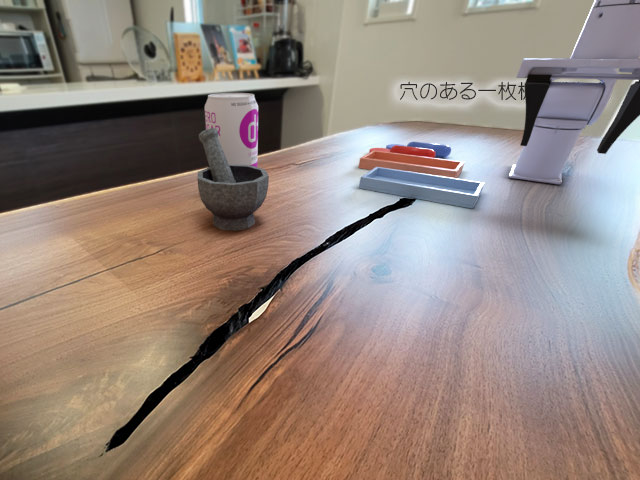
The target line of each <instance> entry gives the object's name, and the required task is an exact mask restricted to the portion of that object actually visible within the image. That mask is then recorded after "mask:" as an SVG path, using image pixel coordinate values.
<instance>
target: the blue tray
mask: <svg viewBox="0 0 640 480" xmlns="http://www.w3.org/2000/svg"><path fill="white" fill-rule="evenodd" d="M484 187H485V182H483V181H476V180H472V179H471V180H470V179H464V178H458V177H457V178H450V177H443V176H436V175H430V174H423V173H416V172H409V171H402V170H395V169H389V168H382V167H375V168H374V169H372V170H368V171H367V172H366V173H365V174H363V175H361V176H360V178H359V184H358V189H361V190H365V191H366V190H367V191H372V192H378V193H383V194H388V195H394V196H399V197H406V198H412V199H417V200H423V201H428V202H433V203H440V204H445V205H450V206H455V207H456V206H457V207H460V208H461V207H462V208H466V209H474V208H475V205H476V204H477V202H478V200H479V198H480V197H481V194H482V192H483V189H484Z"/></svg>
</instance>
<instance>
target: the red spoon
mask: <svg viewBox="0 0 640 480" xmlns="http://www.w3.org/2000/svg"><path fill="white" fill-rule="evenodd" d="M399 145H400V144H399ZM399 145H395V146H393V147H392V148H391V149H386V147H371V148H369V150H368V153H370V152H372V151H382V152H390V153H398V154H406V155H414V156H422V157H430V158H436V157H435V155H436V154H435V151H434V150H432V149H426V148H417V147H408V146H407V145H405V146H399Z"/></svg>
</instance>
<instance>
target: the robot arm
mask: <svg viewBox="0 0 640 480" xmlns="http://www.w3.org/2000/svg"><path fill="white" fill-rule="evenodd" d="M520 63H521V64H520V65H519V69H518V72H517V74H516V79H525V82H524V97H525V117H524V119H525V120H524V127H523V133H522V138H521V141H520V144H519V145H520V146H522V150H521V151H520V154H519V156H518V159H517V161H516V164H513V165H512V167H511V169H510V172H509V174H508V178H510V179H515V180H516V179H517V180H524V181H531V182H538V183H545V184H552V185H553V184H554V185H562V184H563V177H562V176H563V175H562V174H563V170H564V168H565V166H566V164H567V161H568V159H569V158H570V156H571V154H572V152H573V149H574V148H575V145H576V143H577V142H578V139H579V137H580V135H581V133H582V132H583V130H585V129H586V127H587V126H592V125H593V124H595V123H596V122H598V120H599V119H600V117H601V116H602V114H603V113H604V110H606V106H607V105H608V103H609V100H610V99H611V96H612V93H613V91H614V88H615V85H616V83H617V81H618V80H621V81H622V80H625V81H626V80H627V81H628V80H629V81H634V82H633V83H632V84H630V86H629V88H628V90H627V92H626V95H625V97H624V99H623V101H622V103H621V105H620V107H619V108H618V111H617V113H616V115H615V118H614V119H613V120H612V123H611V124H610V126H609V128H608V129H607V131H606V132H605V134H604V136H603V137H602V139H601V140H600V142H599V145H598V147H597V149H596V151H597V154H602V155H606V154H607V153H608V151H609V150H610V149H611V148H612V146H613V145H614V144H615V142H616V141H617V139H618V138H619V137H620V136H621V135H622V134H623V133H624V132H625V131H626V130H627V129H628V127H629V126H631V125H632V123H633V122H634V121H636V120H637V119H638V118H639V117H640V0H594V1H593V3H592V6H591V8H590V11H589V14H588V16H587V18H586V20H585V23H584V25H583V27H582V30H581V32H580V33H579V36H578V39H577V41H576V44H575V46H574V49H573V51H572V54H571V55H570V57H565V58H564V57H562V58H561V57H559V58H557V57H555V58H553V57H552V58H551V57H549V58H548V57H547V58H523V59H522V61H521V62H520ZM619 72H620V73H619ZM560 79H568V80H569V79H574V80H575V79H577V80H578V79H579V80H598V81H599V82H585V81H584V82H583V81H582V82H580V81H579V82H577V81H556V80H560Z"/></svg>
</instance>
